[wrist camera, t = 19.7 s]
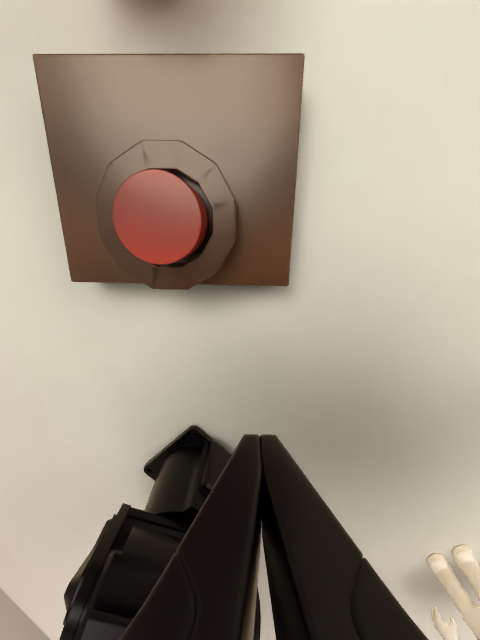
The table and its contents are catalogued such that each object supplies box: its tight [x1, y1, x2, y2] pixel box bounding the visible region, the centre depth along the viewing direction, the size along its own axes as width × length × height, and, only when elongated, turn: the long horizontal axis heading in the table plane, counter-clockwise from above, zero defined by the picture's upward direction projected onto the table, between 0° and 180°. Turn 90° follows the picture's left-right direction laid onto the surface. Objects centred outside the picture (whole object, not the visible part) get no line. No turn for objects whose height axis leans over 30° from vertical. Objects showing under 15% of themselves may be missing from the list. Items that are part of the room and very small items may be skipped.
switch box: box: [33, 54, 305, 290], centre depth 15 cm, size 11×13×4 cm
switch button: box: [112, 169, 207, 265], centre depth 13 cm, size 4×4×2 cm
